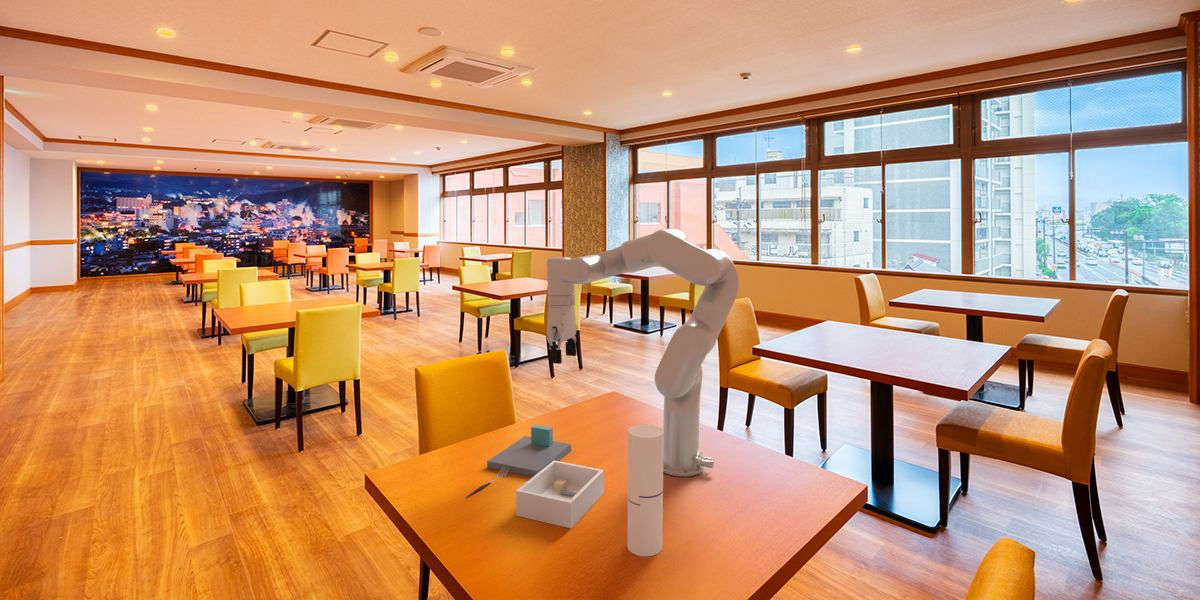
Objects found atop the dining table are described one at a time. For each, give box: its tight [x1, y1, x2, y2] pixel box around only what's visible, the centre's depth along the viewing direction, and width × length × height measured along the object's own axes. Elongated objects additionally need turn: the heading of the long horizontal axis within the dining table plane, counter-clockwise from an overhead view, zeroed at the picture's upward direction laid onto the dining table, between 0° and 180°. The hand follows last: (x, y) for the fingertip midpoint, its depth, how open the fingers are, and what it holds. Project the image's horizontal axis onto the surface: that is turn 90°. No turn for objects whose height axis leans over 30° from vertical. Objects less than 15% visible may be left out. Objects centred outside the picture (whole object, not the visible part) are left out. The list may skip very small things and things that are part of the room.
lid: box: [486, 424, 572, 478], centre depth 163 cm, size 16×20×7 cm
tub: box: [515, 460, 605, 530], centre depth 138 cm, size 14×18×6 cm
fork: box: [465, 467, 509, 499], centre depth 148 cm, size 3×16×2 cm, turn 152°
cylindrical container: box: [626, 424, 664, 557], centre depth 118 cm, size 7×7×25 cm
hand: (563, 359), depth 168 cm, fingers open, 9 cm apart
